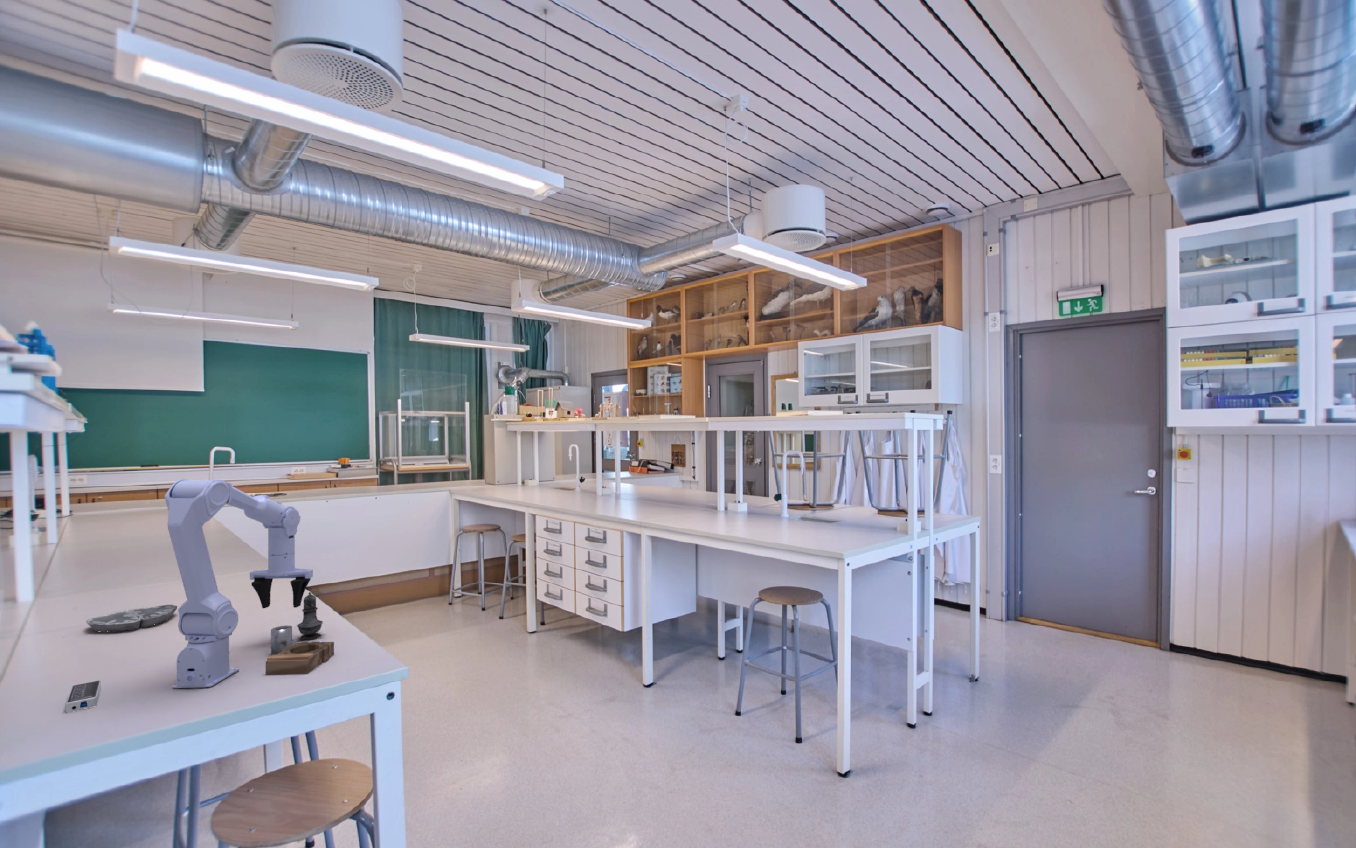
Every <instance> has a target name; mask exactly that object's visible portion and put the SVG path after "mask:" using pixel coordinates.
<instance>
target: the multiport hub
mask: <svg viewBox="0 0 1356 848" xmlns="http://www.w3.org/2000/svg"><path fill="white" fill-rule="evenodd" d="M101 686H102V680H95V681H89V682H85V683H79V684H75V685H72V686H71V688H70V692H69V694H68V697H67V699H66V702H65V713H66V714H69V713H73V711H75V712H78V711H77V710H79V711H82V710H81V709H84V708H88V709H91V708H90V707H93V706H96V707H97V706H98V704H97V703H99V699H100V694H101V691H102V687H101ZM93 708H94V707H93ZM84 710H85V709H84ZM68 712H69V713H68Z"/></svg>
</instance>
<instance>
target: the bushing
mask: <svg viewBox="0 0 1356 848" xmlns="http://www.w3.org/2000/svg"><path fill="white" fill-rule="evenodd" d="M291 645H293V626H292V625H287V624H286V625H280V626H279V625H278V626H275V627H273V628H271V629H270V656H271V655H277V654H278V653H280V652H281V650H283V649H285V648H288V647H289V646H291Z"/></svg>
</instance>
